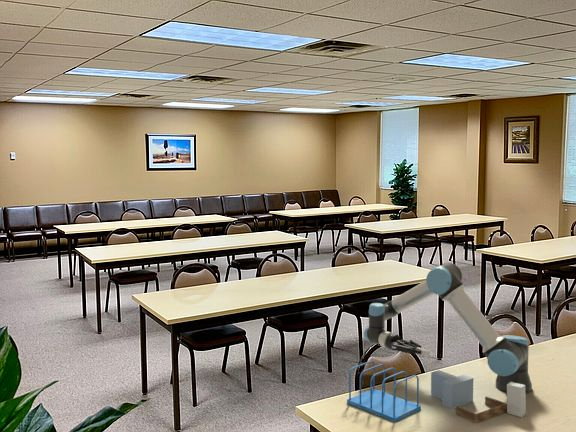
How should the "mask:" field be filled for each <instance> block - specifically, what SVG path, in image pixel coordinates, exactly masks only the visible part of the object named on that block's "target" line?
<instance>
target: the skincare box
mask: <svg viewBox="0 0 576 432" xmlns="http://www.w3.org/2000/svg"><path fill="white" fill-rule="evenodd" d="M526 394H527V393H526V392H525V385H523V384H518V383H514V382H510V383H508V384H507V392H506V404H507V412H506V414H509V415H512V416H515V417H520V418H523V417H524V416H525V415H526V414H527V413H526V411H527V410H526V407H527V406H526V403H527V401H526V399H527V397H526Z"/></svg>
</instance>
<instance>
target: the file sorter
mask: <svg viewBox="0 0 576 432" xmlns="http://www.w3.org/2000/svg"><path fill="white" fill-rule="evenodd" d="M370 363H371V364H372V365H373V366H372V367H369V368H366V369H364V370H363V371H361V372H360V375H359V394H357V395H354V396H352V385H351V383H352V381H351V380H352V379H351V377H352V372H353V371H354V369H356V368H359V367H362V366H365V365H368V364H370ZM381 366H382V368H383V370H382V371H379V372H375V371H376V370H375V369H376V368H379V367H381ZM370 370H372V371H373V372H372V373H373V374H372V376H371V378H370V386H369V387H370V389H369V390H367V391H364V392H362V376H363V374H364V373H366V372H368V371H370ZM390 370H393V373H394V374H392V375H390V376H387V377H386V372H388V371H390ZM396 371H397V370H396V368H394V367H389V368H387V369H386V367H385V365H384V364H382V363H381V364H378V365H375V362H374V361H373V360H369V361H367V362H363V363H361V364H358V365H356V366H352V368H350V370H349V373H348V374H349V377H348V382H349V383H348V390H349V391H348V393H349V394H348V398H347V399H346V404H349V405H352V406H353V407H356V408H358V409H361V410H364V411H366V412H368V413H372V414H373V415H376V416H379V417H382V418H384V419H386V420H387V421H390V422H391V421H392V422H394V423H395V422H399V421H400V420H402V419H404V418H406V417H408V416H410V415H412V414H415V413H416V412H419V411H420V410H421V409H422V406H421V405H420V404H419V403H420V402H419V400H420V397H419V396H420V392H419V391H420V390H419V389H420V388H419V386H420V385H419V384H420V380H419V379H420V378H419V376H418V375H417V374H413V375H411V376H408V374H407V372H406V371H404V370H402V371H399V372H396ZM403 373H404V375H405V378H404V379H401V380H398V381H397V376H398V375H401V374H403ZM380 374H383V381H382V383H381V390H378V389H376V388H375V382H376V380H375V379H376V376H377V375H380ZM393 377H394V378H393ZM415 377H416V403H414V402H412V401H409V400H408V380H410V379H413V378H415ZM391 378H393V380H394V381H393V384H394V385H393V386H394V387H393V395H392V394H390V393H387V392H386V381H387V380H389V379H391ZM401 383H404V385H405V387H404V388H405V389H404V390H405V391H404V392H405V394H404V395H405V397H404V399H403V398H401V397H397V396H396V395H397V386H398V385H399V384H401Z"/></svg>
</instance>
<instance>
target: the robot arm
mask: <svg viewBox="0 0 576 432" xmlns="http://www.w3.org/2000/svg"><path fill="white" fill-rule="evenodd" d="M462 280H463V272H462V270H461V268H460V267H459V266H458V265H456V264H455V263H450V262H448V263H443V264H442V265H438V266H435V267H433V268H431V270H429V272H428V273H427V275H426V279H425V280H424V281H422V282H421V283H419V284H417V285H415V286H414V287H412V288H410V289H408V290H407V291H405V292H403V293H401V294H400V295H397V296H396V297H394V298H393V299H391V300H389V301H387V302H386V303H381V302H372V303H370V304H369V307H368V308H369V309H368V326H367V327H366V328H365V329H364V332H363V337H364V339H365V340H366V341H367V342H369V343H371V344H374V345H377V344H378V345H377V346H380V347H382V348H385V349H388V350H391V351H397V352H400V353H405V354H409V355H413V356H416V355H419V356H421V357H422V356H423V357H425V358H430V350H428V349H427V348H426V349H425V348H422V345H421V344H419V343H416V342H415V341H414V340H413V339H409V340H405V339H403V338H402V337H401V336H400V335H399V334H396V333H393V332H391V331H387V330H385V323H386V322H385V321H387V320H390V319H392V318H394V317H396V316H397V315H399V314H400V313H403V312H404V311H406V310H408V309H410V308H412V307H414V306H415V305H418V304H419V303H420V302H422V301H424V300H426V299H428V298H429V297H431V296H433V295H438V296H439V298H440V299H441V300H442V301H444V302H447V303H449V306H451V308H452V309H453V310H454V311H455V312H456V314H457V315H458V316H459V318H460V319H461V321H462V322H463V323H464V324H465V325H466V327H467V328H468V330H469V331H470V332H471V333H472V335H473V337H475V339H476V340H477V341H478V342H479V344H480V345H481V347H482V354H483V355H484V356H485V357H486V359H487V365H488V368H489V369H490V370H491V371H492V372H493V373H494V374H495V375H497V376H496V378H495V387H496V388H497V389H499V390H500V391H503V392H506V393H507V384H508V383H510V382H514V383H518V384H523V385H525V392H526V393H525V394H527V393H530V392H532V390H533V383H532V381H531V378H530V374H529V352H530V351H529V347H530V345H529V344H530V343H529V340H528V338H526V337H523V336H519V335H510V334H505V335H500V334H499V333H498V332H497V331H496V330H495V328H494V326H493V325H492V324H491V323H490V322H489V320H488V319H487V318H486V317H485V315H484V314H483V313H482V311H481V310H480V309H479V307H478V306H477V305H476V304H475V302H474V301H473V300H472V299H471V298H470V296H469V295H468V293H467V292H466V291H465V285H464V283H463V282H462ZM379 344H380V345H379Z"/></svg>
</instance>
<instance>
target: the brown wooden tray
mask: <svg viewBox="0 0 576 432" xmlns="http://www.w3.org/2000/svg"><path fill="white" fill-rule="evenodd" d="M484 404H485V405H487V406H489V407H492V408H488V409H486V410H483V411H480V412H477V413H476V412H472V411H471V410H467V409H465V408H463V407H462V406H457V407H455V415H456V416H460V417H461V418H464V419H466V420H468V421H470V422H471V421H472V422H474V423H475V424H478V423H480V422H484V421H485V420H488V419H491V418H493V417H496V416H499V415H502V414H504V413H507V402H504V401H500V400H497V399H496V398H492V397H489V396H487V395H486V396H485V397H484Z"/></svg>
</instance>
